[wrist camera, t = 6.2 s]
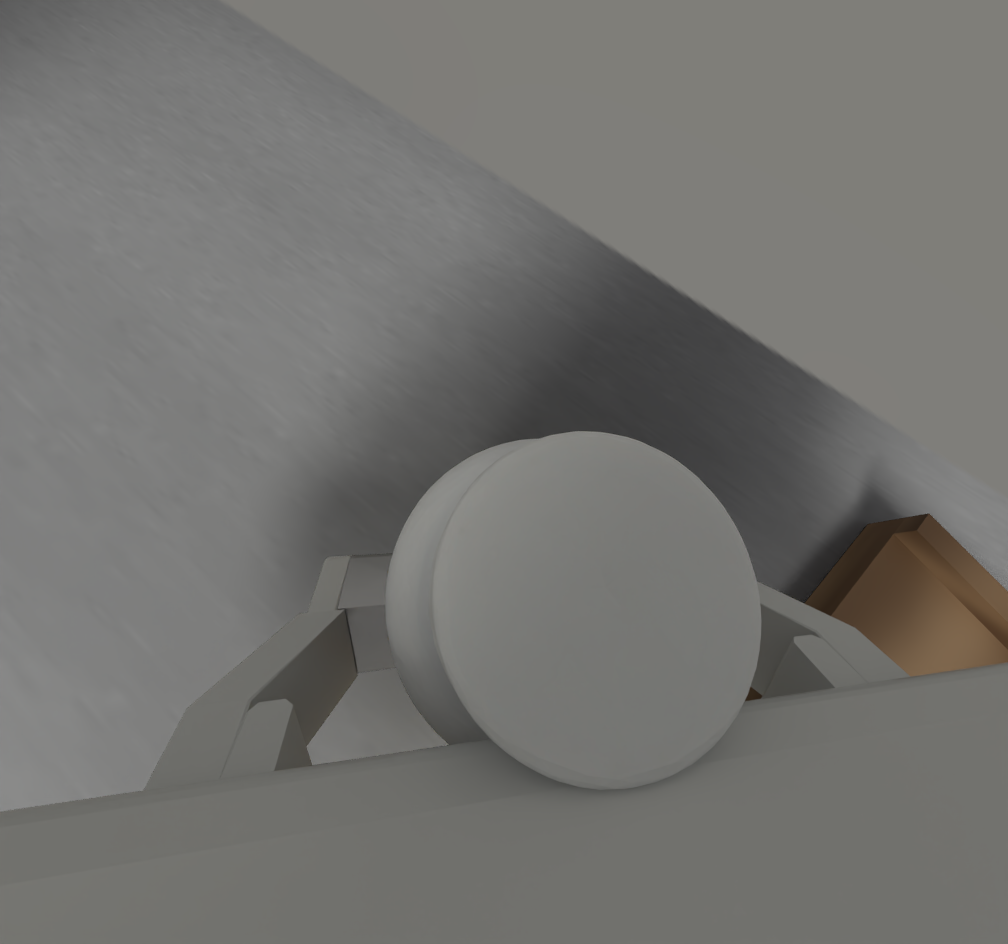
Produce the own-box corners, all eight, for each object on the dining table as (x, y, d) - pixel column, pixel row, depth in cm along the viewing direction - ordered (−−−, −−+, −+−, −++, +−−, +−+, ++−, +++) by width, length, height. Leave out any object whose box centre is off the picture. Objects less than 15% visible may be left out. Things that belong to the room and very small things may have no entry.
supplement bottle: (382, 572, 14) (249, 514, 4) (514, 487, 16) (633, 305, 6) (472, 721, 13) (561, 1071, 3) (602, 615, 15) (918, 648, 5)
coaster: (691, 744, 14) (738, 772, 12) (868, 524, 17) (929, 513, 15) (973, 1089, 12) (1090, 1197, 10) (1105, 767, 16) (1212, 794, 14)
